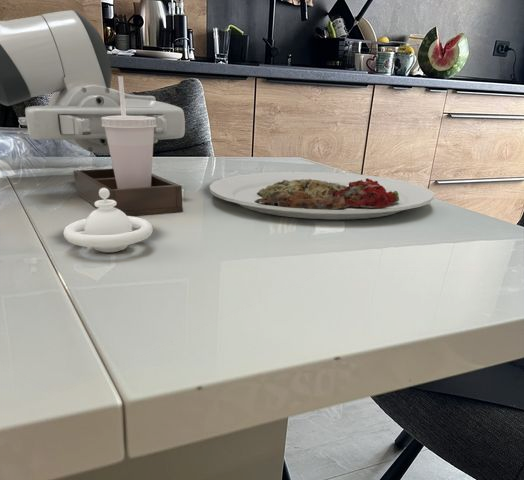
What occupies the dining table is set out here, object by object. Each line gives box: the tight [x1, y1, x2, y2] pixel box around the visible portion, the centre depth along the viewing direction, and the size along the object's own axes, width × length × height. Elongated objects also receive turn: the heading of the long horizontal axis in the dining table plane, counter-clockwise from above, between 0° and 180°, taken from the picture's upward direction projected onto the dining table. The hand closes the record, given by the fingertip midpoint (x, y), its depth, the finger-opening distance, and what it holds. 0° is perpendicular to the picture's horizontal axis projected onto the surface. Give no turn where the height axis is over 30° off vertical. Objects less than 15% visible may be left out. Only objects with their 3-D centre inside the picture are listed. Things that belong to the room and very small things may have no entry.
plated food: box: [208, 171, 435, 220], centre depth 74 cm, size 30×30×3 cm
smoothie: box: [101, 75, 157, 189], centre depth 66 cm, size 6×6×14 cm
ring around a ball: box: [63, 188, 154, 253], centre depth 50 cm, size 8×6×8 cm
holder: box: [73, 168, 184, 217], centre depth 72 cm, size 9×17×3 cm, turn 29°
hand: (123, 126), depth 66 cm, fingers open, 8 cm apart
